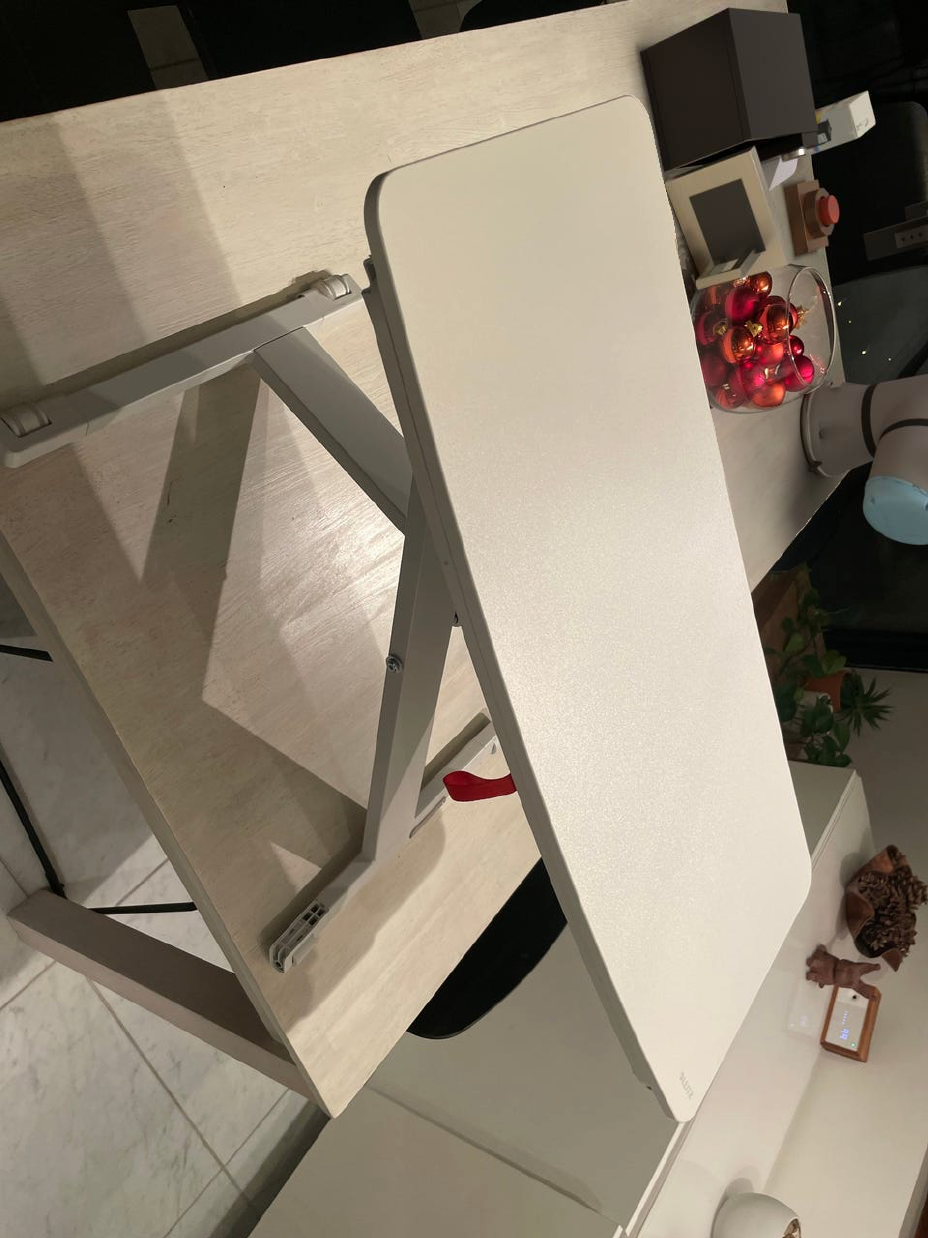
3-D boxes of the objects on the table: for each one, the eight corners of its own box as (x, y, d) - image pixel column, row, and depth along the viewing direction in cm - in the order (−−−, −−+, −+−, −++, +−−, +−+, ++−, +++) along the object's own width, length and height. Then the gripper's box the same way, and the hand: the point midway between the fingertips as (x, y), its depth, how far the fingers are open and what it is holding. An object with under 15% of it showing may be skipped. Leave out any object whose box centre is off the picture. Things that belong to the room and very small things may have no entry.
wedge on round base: (746, 198, 135) (781, 174, 143) (791, 183, 131) (825, 159, 138) (729, 132, 132) (765, 112, 140) (775, 114, 127) (810, 94, 135)
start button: (829, 224, 147) (840, 221, 146) (819, 227, 144) (831, 223, 143) (825, 197, 146) (836, 193, 145) (815, 199, 143) (826, 196, 142)
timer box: (815, 249, 152) (840, 242, 149) (795, 255, 146) (820, 248, 144) (804, 183, 149) (829, 175, 146) (783, 188, 144) (808, 179, 141)
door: (684, 313, 123) (770, 291, 115) (641, 206, 116) (729, 174, 108) (708, 282, 127) (792, 259, 119) (668, 177, 120) (754, 145, 112)
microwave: (738, 179, 133) (821, 149, 125) (667, 192, 120) (755, 159, 112) (714, 53, 129) (799, 13, 121) (638, 51, 116) (728, 6, 107)
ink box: (791, 118, 146) (869, 87, 138) (800, 150, 148) (877, 122, 140) (770, 133, 141) (850, 102, 133) (779, 166, 143) (858, 138, 135)
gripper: (1137, 104, 96) (917, 176, 110) (1089, 145, 80) (839, 222, 95) (1145, 181, 98) (928, 241, 113) (1099, 235, 82) (855, 297, 97)
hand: (887, 232), depth 104 cm, fingers open, 13 cm apart
